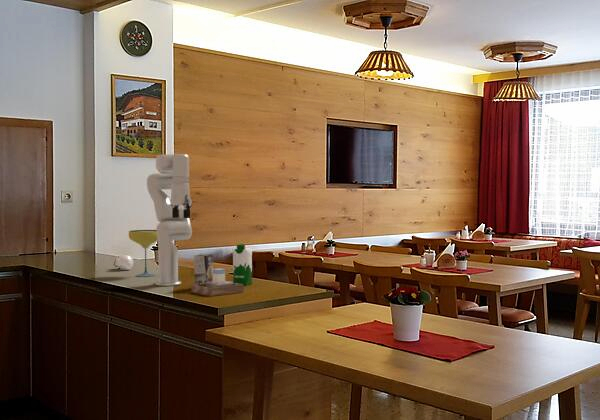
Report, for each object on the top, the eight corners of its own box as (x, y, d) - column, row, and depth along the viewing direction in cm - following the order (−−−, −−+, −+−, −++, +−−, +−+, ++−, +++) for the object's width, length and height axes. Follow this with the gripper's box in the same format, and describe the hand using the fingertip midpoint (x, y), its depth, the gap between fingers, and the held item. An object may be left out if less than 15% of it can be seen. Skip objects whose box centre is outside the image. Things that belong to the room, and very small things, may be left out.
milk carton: (230, 285, 331) (230, 245, 331) (238, 283, 340) (238, 243, 339) (247, 286, 328) (246, 245, 328) (254, 283, 337) (254, 244, 336)
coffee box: (207, 289, 317) (206, 255, 317) (194, 289, 319) (193, 255, 318) (213, 286, 326) (213, 253, 326) (200, 286, 328) (200, 253, 327)
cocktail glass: (143, 273, 384) (142, 229, 383) (169, 274, 376) (168, 230, 375) (122, 276, 367) (121, 231, 367) (148, 278, 360) (148, 232, 359)
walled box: (191, 292, 308) (191, 284, 308) (223, 288, 320) (223, 281, 320) (210, 296, 296) (210, 288, 296) (243, 292, 308) (243, 284, 308)
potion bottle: (127, 273, 394) (117, 274, 406) (139, 262, 399) (128, 263, 411) (117, 261, 391) (107, 262, 403) (129, 250, 396) (119, 252, 408)
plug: (212, 290, 309) (212, 269, 309) (220, 289, 312) (220, 268, 312) (218, 291, 306) (217, 269, 306) (225, 290, 309) (225, 269, 309)
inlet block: (205, 290, 309) (205, 282, 309) (221, 288, 315) (221, 280, 315) (216, 292, 303) (216, 284, 303) (233, 290, 309) (232, 282, 309)
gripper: (164, 181, 314) (164, 217, 314) (183, 180, 301) (184, 218, 301) (178, 181, 319) (178, 217, 319) (197, 180, 306) (198, 218, 306)
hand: (181, 217), depth 310 cm, fingers open, 9 cm apart
